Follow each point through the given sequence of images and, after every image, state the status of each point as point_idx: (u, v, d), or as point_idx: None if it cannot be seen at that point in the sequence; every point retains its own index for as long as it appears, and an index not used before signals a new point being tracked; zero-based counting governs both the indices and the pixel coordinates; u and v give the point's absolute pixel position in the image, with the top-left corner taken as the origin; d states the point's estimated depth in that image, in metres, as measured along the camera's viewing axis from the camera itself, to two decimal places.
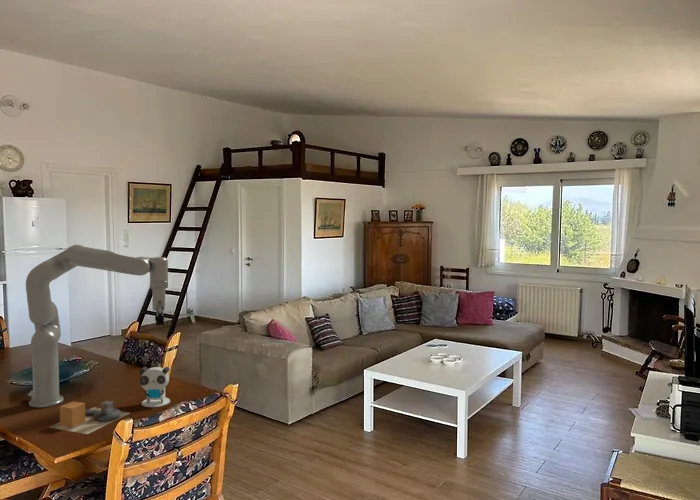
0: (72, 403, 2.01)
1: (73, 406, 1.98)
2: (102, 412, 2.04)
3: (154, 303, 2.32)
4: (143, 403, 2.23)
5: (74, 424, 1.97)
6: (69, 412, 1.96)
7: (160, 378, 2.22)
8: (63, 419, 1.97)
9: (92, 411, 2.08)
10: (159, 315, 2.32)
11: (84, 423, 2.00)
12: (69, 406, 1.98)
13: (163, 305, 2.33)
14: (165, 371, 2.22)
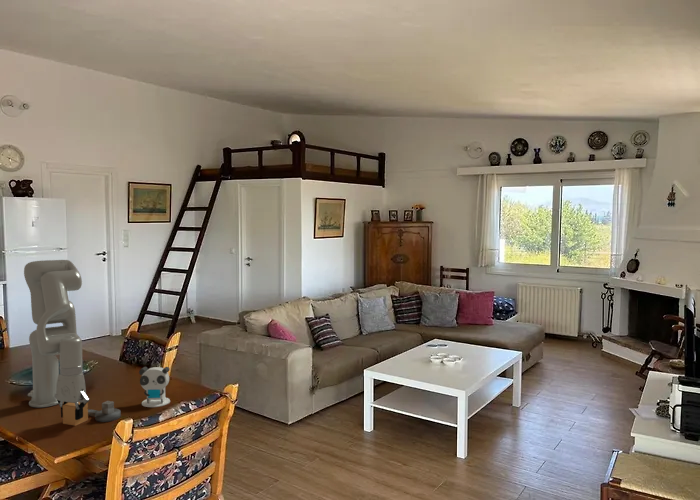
0: None
1: None
2: (103, 412, 2.04)
3: (77, 393, 1.95)
4: (143, 403, 2.23)
5: (77, 423, 1.98)
6: (72, 411, 1.97)
7: (160, 378, 2.22)
8: (66, 417, 1.99)
9: (93, 411, 2.08)
10: (81, 408, 1.98)
11: None
12: (72, 404, 1.99)
13: None
14: (165, 371, 2.22)
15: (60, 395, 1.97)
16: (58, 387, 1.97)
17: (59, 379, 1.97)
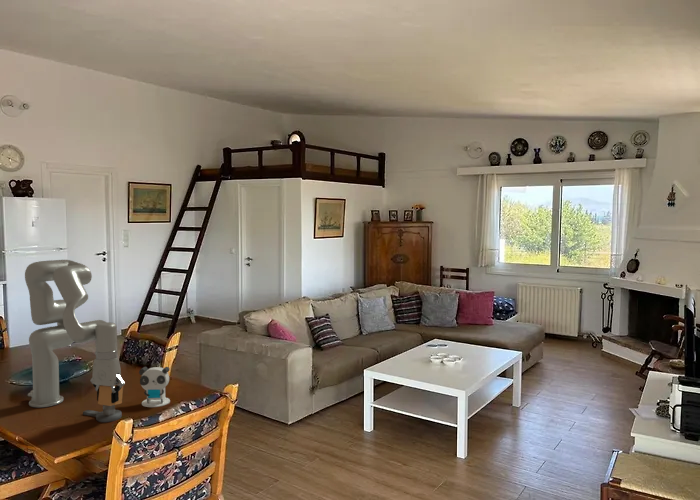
0: None
1: None
2: (104, 413, 2.04)
3: (113, 377, 2.01)
4: (143, 403, 2.23)
5: (112, 403, 2.03)
6: (108, 391, 2.03)
7: (160, 378, 2.22)
8: (102, 398, 2.04)
9: (94, 412, 2.08)
10: (117, 391, 2.03)
11: None
12: None
13: None
14: (165, 371, 2.22)
15: (96, 379, 2.03)
16: (94, 371, 2.03)
17: (95, 363, 2.03)
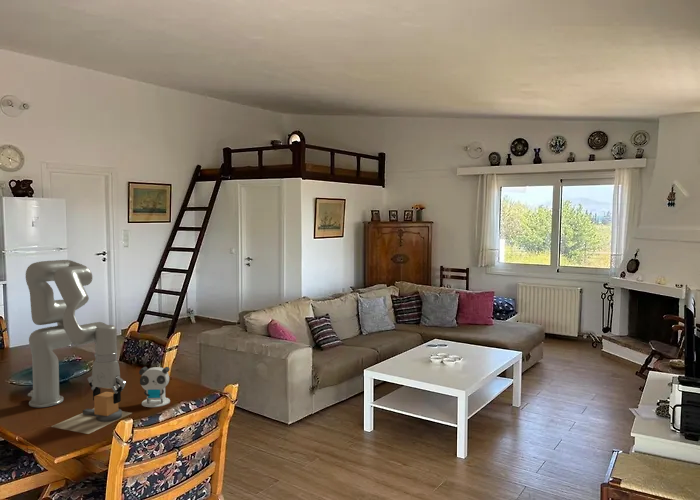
0: (106, 393, 2.07)
1: (107, 396, 2.03)
2: None
3: (112, 379, 2.01)
4: (143, 403, 2.23)
5: (108, 413, 2.02)
6: (103, 402, 2.02)
7: (160, 378, 2.22)
8: (98, 408, 2.03)
9: None
10: (119, 391, 2.03)
11: (86, 423, 2.00)
12: (103, 395, 2.04)
13: None
14: (165, 371, 2.22)
15: (96, 381, 2.03)
16: (94, 373, 2.03)
17: (95, 366, 2.03)
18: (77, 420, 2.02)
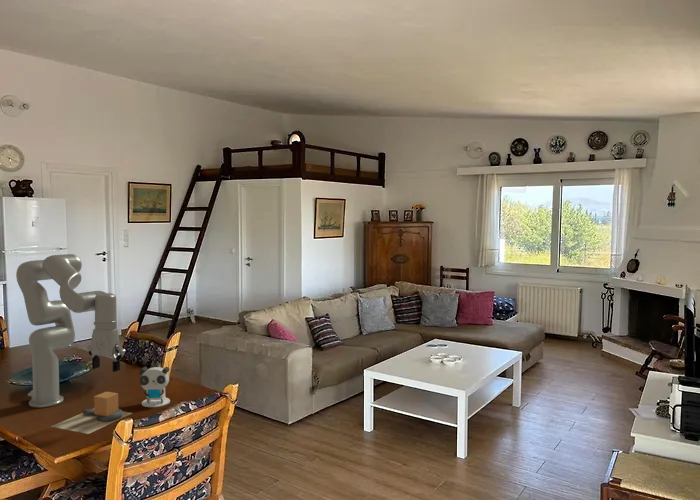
0: (106, 393, 2.07)
1: (107, 396, 2.03)
2: None
3: (111, 347, 2.00)
4: (143, 403, 2.23)
5: (108, 413, 2.02)
6: (103, 402, 2.02)
7: (160, 378, 2.22)
8: (97, 408, 2.03)
9: None
10: (118, 360, 2.02)
11: (86, 423, 2.00)
12: (103, 395, 2.04)
13: None
14: (165, 371, 2.22)
15: (95, 349, 2.02)
16: (93, 341, 2.02)
17: (94, 334, 2.02)
18: (77, 420, 2.02)
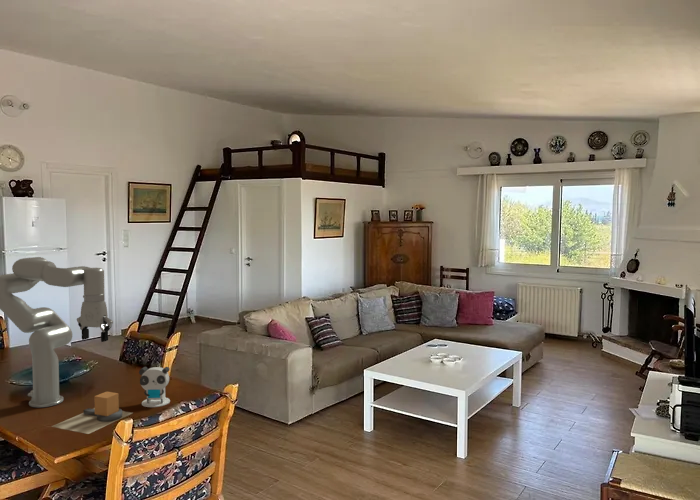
0: (106, 393, 2.07)
1: (107, 396, 2.03)
2: None
3: (100, 318, 2.11)
4: (143, 403, 2.23)
5: (108, 413, 2.02)
6: (104, 402, 2.02)
7: (160, 378, 2.22)
8: (98, 408, 2.03)
9: None
10: (106, 330, 2.13)
11: (86, 423, 2.00)
12: (104, 395, 2.04)
13: None
14: (165, 371, 2.22)
15: (84, 321, 2.13)
16: (82, 313, 2.13)
17: (83, 306, 2.13)
18: (78, 420, 2.03)
